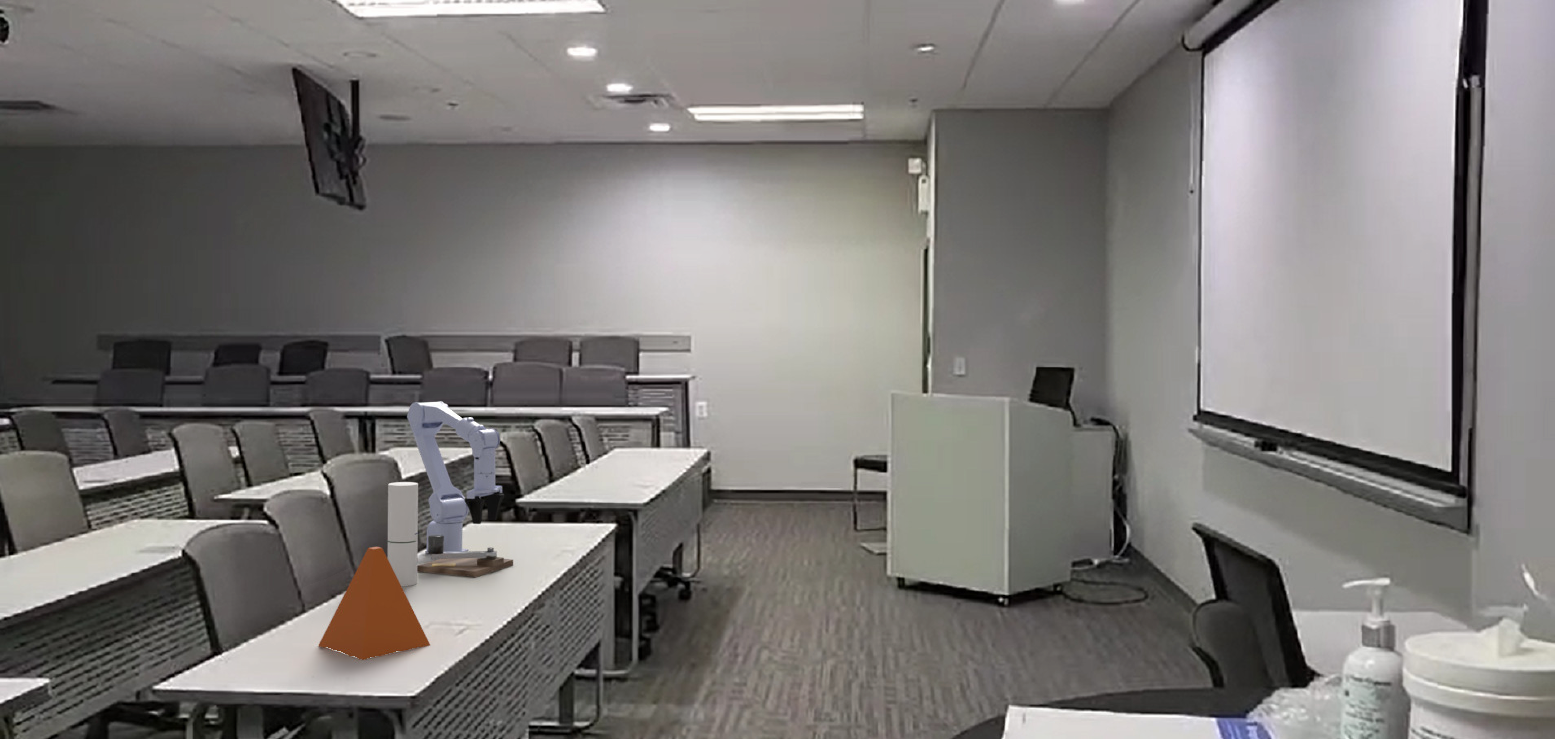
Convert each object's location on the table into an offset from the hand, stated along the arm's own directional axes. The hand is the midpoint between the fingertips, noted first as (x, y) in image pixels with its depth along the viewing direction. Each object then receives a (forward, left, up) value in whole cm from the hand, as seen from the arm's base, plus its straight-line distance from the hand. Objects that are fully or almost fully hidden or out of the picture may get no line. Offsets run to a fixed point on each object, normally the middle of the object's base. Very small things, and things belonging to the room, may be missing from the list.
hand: (484, 521), depth 345 cm
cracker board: (+3, -13, -10) cm, 17 cm away
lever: (+4, -16, -7) cm, 18 cm away
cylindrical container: (0, -36, -11) cm, 37 cm away
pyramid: (+32, -88, -11) cm, 94 cm away
